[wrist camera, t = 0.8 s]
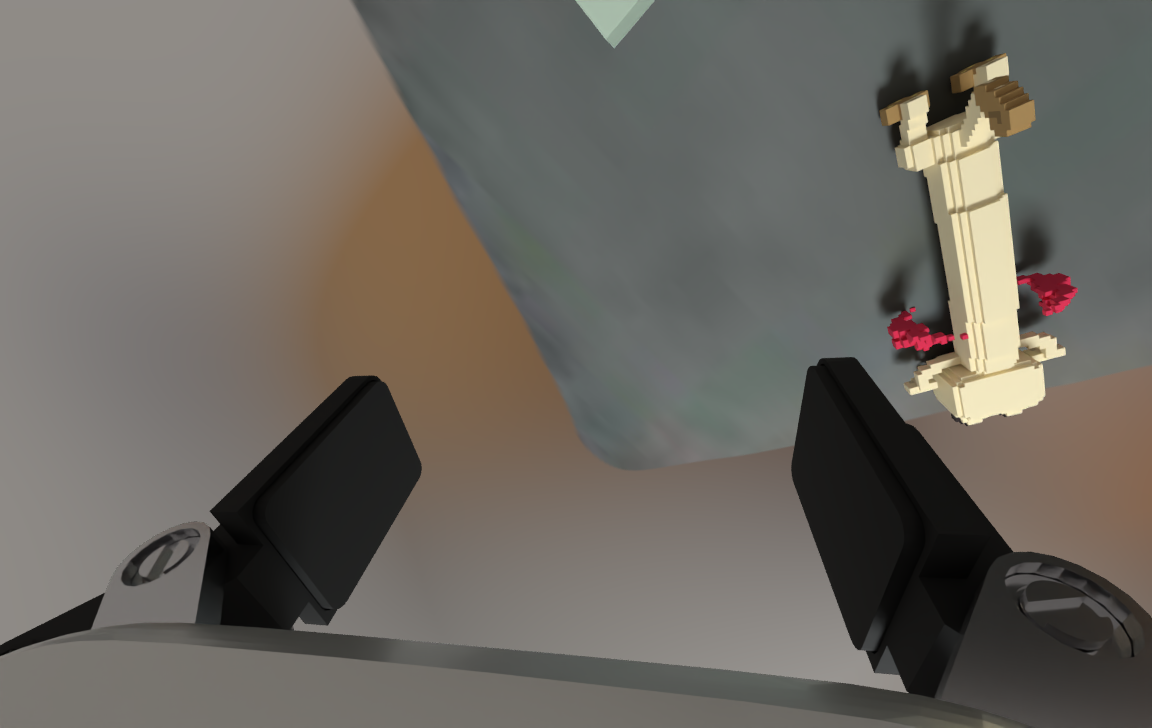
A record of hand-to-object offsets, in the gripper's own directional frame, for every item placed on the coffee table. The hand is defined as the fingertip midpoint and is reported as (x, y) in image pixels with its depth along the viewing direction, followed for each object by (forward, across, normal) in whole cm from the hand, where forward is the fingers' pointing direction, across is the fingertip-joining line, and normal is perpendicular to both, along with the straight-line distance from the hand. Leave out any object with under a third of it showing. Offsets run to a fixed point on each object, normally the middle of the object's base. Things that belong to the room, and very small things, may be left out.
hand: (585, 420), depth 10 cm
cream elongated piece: (+26, -22, +8) cm, 35 cm away
